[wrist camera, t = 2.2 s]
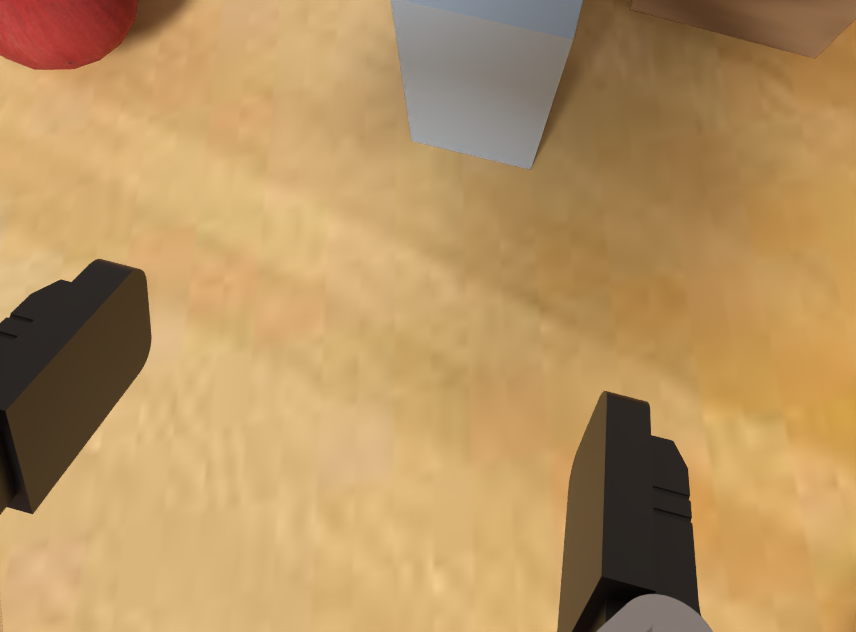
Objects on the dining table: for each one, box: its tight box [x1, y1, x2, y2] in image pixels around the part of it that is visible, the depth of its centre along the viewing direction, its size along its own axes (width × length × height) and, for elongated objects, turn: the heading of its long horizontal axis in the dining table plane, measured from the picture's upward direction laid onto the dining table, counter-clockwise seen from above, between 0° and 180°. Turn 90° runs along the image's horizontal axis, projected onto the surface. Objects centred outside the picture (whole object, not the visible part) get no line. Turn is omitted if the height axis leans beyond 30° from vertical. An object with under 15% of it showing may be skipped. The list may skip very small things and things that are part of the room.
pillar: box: [391, 0, 583, 170], centre depth 24 cm, size 4×4×10 cm
